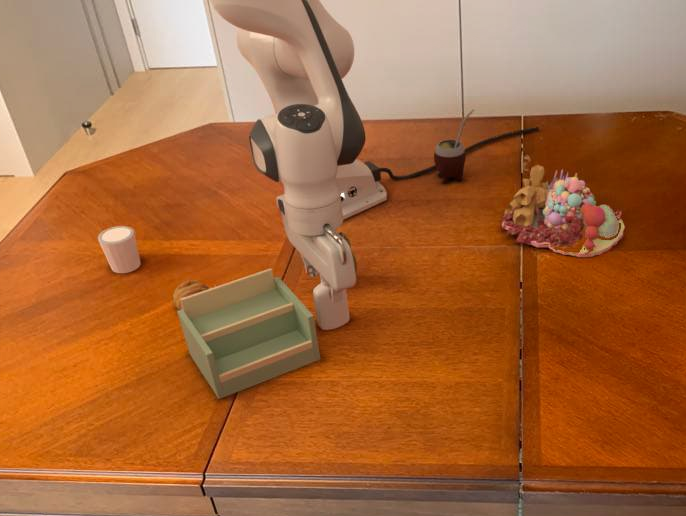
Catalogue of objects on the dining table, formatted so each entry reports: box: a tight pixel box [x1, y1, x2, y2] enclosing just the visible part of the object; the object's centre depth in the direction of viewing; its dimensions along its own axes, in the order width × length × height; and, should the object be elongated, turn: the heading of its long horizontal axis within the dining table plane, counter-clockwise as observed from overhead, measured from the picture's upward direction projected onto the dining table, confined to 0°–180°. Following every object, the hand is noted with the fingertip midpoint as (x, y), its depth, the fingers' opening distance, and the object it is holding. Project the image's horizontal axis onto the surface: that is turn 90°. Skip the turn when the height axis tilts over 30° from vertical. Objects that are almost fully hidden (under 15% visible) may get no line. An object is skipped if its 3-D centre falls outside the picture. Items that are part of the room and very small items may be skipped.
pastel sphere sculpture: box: [501, 164, 626, 258], centre depth 162 cm, size 25×24×9 cm
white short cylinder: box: [97, 225, 142, 274], centre depth 157 cm, size 7×7×7 cm
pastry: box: [172, 279, 210, 311], centre depth 146 cm, size 9×7×4 cm
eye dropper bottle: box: [312, 273, 351, 331], centre depth 139 cm, size 4×6×12 cm
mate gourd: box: [433, 108, 475, 185], centre depth 178 cm, size 8×8×15 cm
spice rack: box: [176, 267, 321, 400], centre depth 132 cm, size 18×14×11 cm
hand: (324, 287), depth 137 cm, fingers open, 8 cm apart
